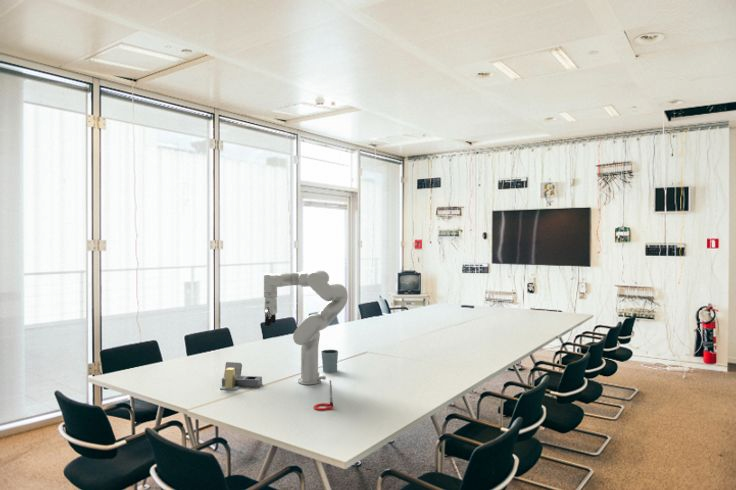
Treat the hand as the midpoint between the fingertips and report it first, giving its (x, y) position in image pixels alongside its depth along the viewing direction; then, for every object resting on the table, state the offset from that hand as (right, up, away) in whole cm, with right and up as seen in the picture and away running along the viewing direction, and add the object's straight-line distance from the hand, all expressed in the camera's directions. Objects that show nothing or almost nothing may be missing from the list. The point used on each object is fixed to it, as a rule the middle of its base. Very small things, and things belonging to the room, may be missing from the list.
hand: (270, 324), depth 285 cm
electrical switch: (-21, -31, -4) cm, 37 cm away
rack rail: (-12, -30, -17) cm, 37 cm away
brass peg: (-17, -30, -24) cm, 42 cm away
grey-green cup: (+33, -31, +13) cm, 47 cm away
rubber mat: (-17, -30, -24) cm, 42 cm away
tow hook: (+36, -31, -53) cm, 71 cm away
